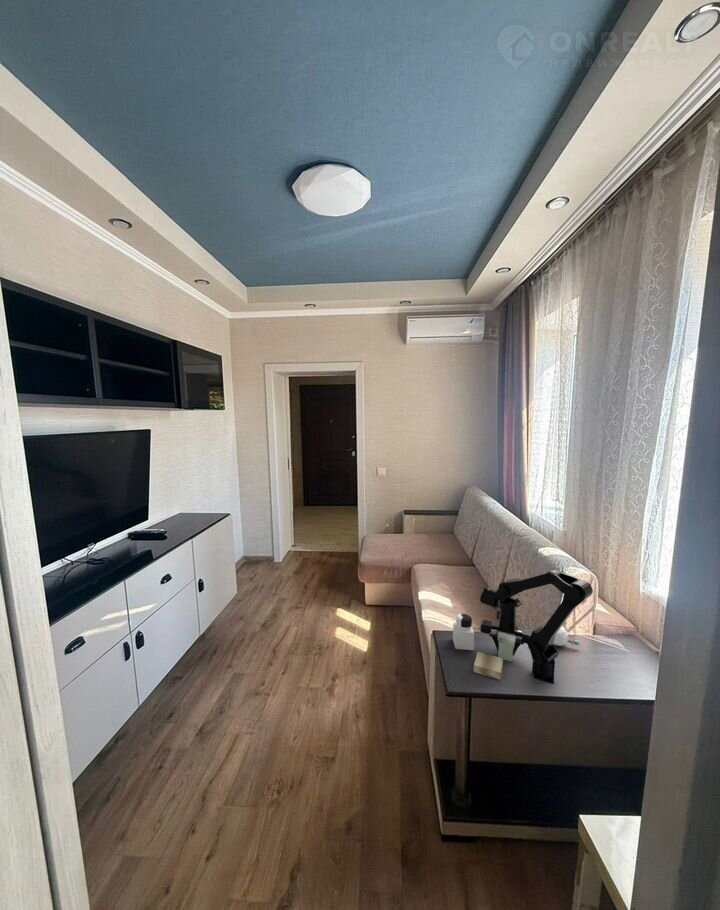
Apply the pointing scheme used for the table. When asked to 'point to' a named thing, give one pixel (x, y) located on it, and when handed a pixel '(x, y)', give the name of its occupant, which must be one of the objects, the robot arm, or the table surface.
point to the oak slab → (488, 665)
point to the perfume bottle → (563, 638)
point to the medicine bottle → (463, 632)
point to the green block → (506, 648)
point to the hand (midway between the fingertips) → (505, 653)
